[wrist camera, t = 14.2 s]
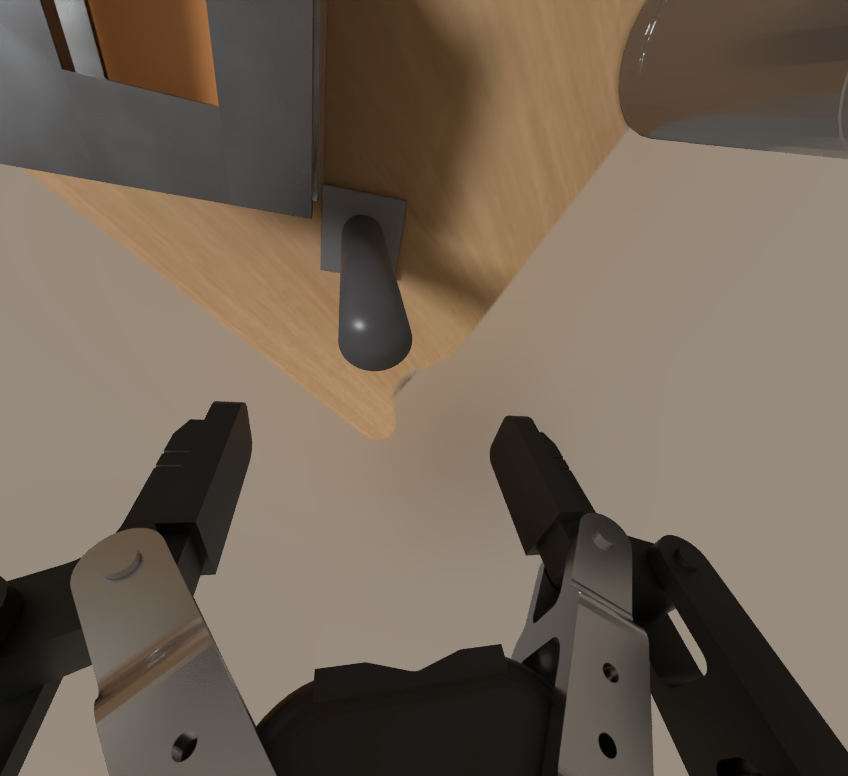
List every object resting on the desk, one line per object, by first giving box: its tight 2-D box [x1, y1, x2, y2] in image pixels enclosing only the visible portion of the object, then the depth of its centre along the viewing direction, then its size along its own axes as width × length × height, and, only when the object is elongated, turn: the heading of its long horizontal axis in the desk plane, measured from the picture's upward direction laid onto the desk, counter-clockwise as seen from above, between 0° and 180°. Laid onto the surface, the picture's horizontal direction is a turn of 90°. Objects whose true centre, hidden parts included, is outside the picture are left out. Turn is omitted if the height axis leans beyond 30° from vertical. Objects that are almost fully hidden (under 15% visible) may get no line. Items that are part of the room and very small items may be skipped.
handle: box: [338, 215, 412, 371], centre depth 20 cm, size 3×3×15 cm
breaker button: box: [88, 0, 219, 106], centre depth 16 cm, size 6×6×5 cm
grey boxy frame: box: [0, 0, 328, 219], centre depth 15 cm, size 12×12×10 cm
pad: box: [321, 184, 407, 274], centre depth 26 cm, size 6×6×1 cm
